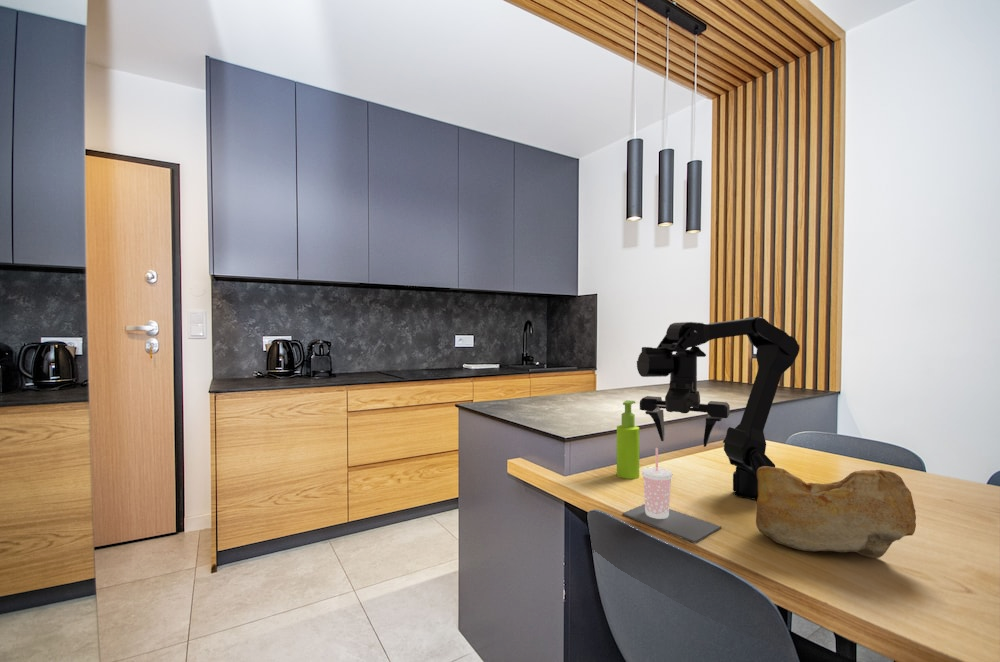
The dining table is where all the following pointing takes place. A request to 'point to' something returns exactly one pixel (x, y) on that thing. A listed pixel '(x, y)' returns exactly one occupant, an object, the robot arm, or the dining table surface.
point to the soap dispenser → (628, 445)
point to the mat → (676, 524)
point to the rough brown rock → (835, 511)
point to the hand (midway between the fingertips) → (683, 443)
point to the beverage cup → (657, 490)
